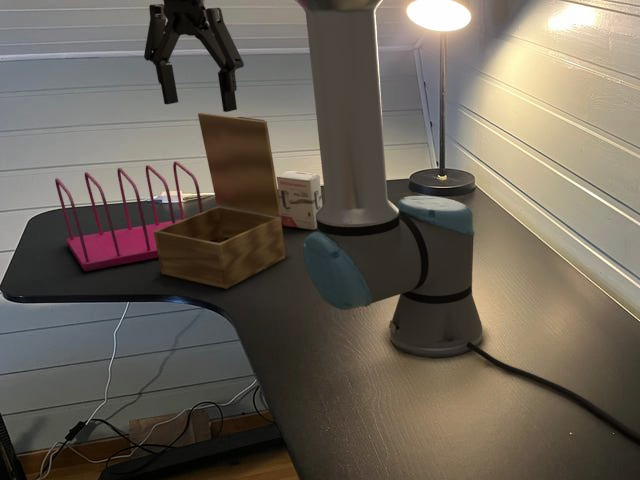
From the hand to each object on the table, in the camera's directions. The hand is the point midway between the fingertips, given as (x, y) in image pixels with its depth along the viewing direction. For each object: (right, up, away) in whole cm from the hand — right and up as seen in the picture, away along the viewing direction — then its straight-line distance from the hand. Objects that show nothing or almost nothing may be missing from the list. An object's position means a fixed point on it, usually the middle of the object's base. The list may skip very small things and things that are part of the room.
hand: (200, 107), depth 132 cm
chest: (-1, -27, +15) cm, 31 cm away
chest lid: (+3, -7, +12) cm, 15 cm away
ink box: (+10, -15, +37) cm, 41 cm away
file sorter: (-21, -22, +23) cm, 38 cm away
